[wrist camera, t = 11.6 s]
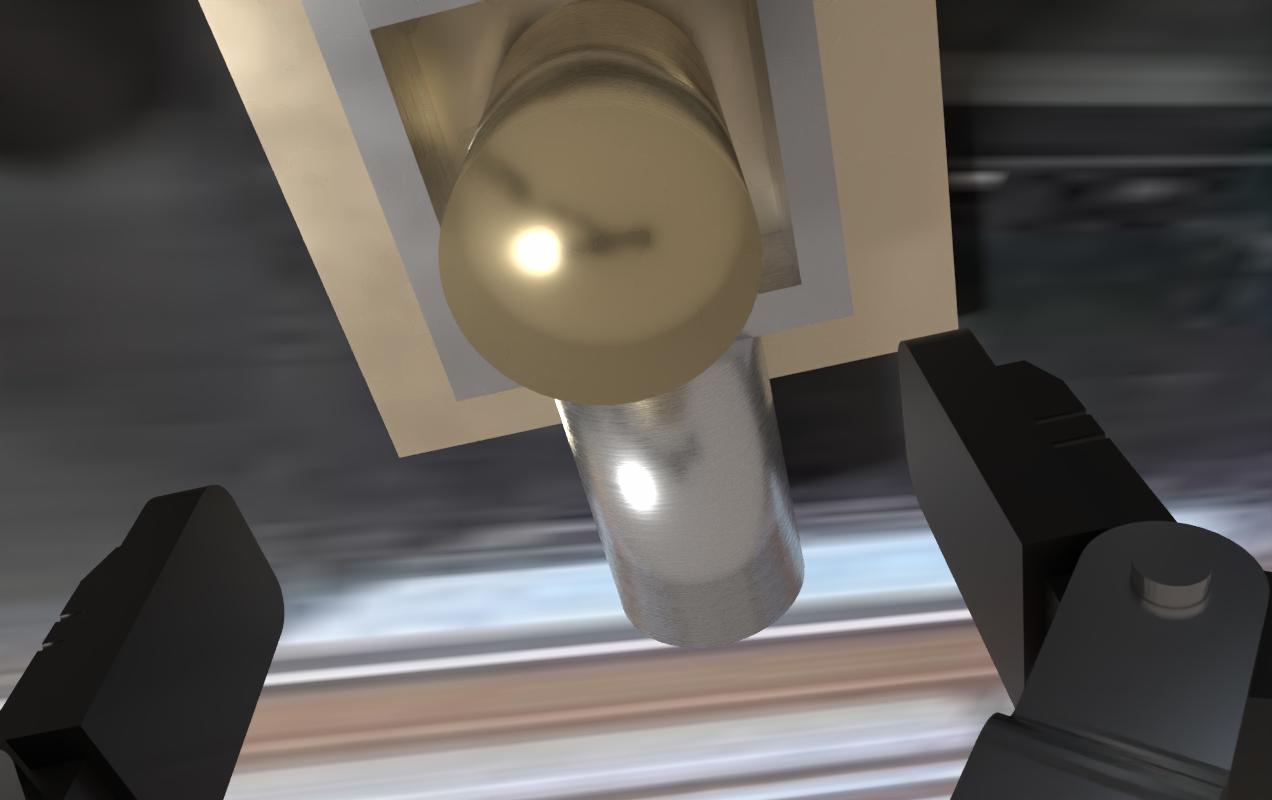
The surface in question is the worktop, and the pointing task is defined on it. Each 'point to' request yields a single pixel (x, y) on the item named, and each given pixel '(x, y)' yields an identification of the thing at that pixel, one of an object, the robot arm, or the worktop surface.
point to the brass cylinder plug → (601, 213)
